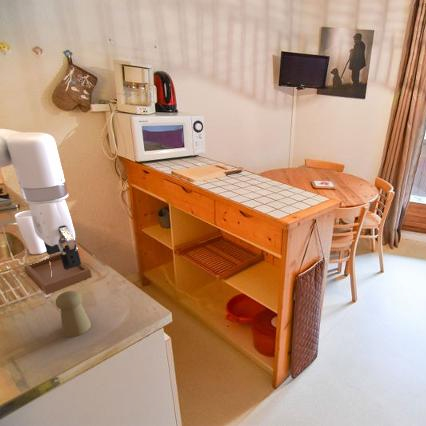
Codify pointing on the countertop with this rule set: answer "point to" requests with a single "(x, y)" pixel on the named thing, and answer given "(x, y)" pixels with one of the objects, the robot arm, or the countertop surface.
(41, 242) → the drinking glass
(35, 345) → the countertop surface
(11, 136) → the robot arm
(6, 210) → the countertop surface
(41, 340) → the countertop surface
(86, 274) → the tray
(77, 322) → the cork
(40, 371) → the countertop surface
